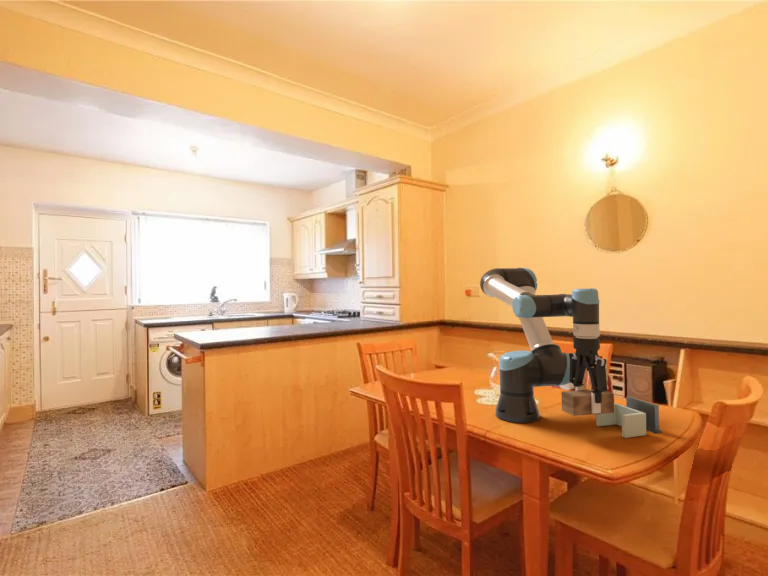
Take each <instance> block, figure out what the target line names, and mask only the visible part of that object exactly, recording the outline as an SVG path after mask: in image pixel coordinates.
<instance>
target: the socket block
mask: <svg viewBox="0 0 768 576" xmlns="http://www.w3.org/2000/svg"><path fill="white" fill-rule="evenodd" d="M595 422H596V426H597V427H604V426H605V427H606V426H612V425H617V426H619V427H621V433H622V434H621V437H623V438H625V439H628V438H635V437H641V436H647V430H646V413H643V412H641V411H638V410H635V409H632V408H629V407H626V405H623V404H619V403H617V402H614V413H605V414H595Z"/></svg>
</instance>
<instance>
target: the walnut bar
mask: <svg viewBox="0 0 768 576" xmlns="http://www.w3.org/2000/svg"><path fill="white" fill-rule="evenodd" d="M591 391H593V389H592V390H589V389H584V390H578V391H575V390H566V391H561V411H562V412H564V413H567V414H568V415H571V416H573V417H579V416H592V415H593V416H594V414H593V413H592V405H591ZM614 403H615V394H614V392H613V393H611V392H608V391H606V392H602V402H601V413H596V414H605V413H614ZM596 414H595V415H596Z"/></svg>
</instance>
